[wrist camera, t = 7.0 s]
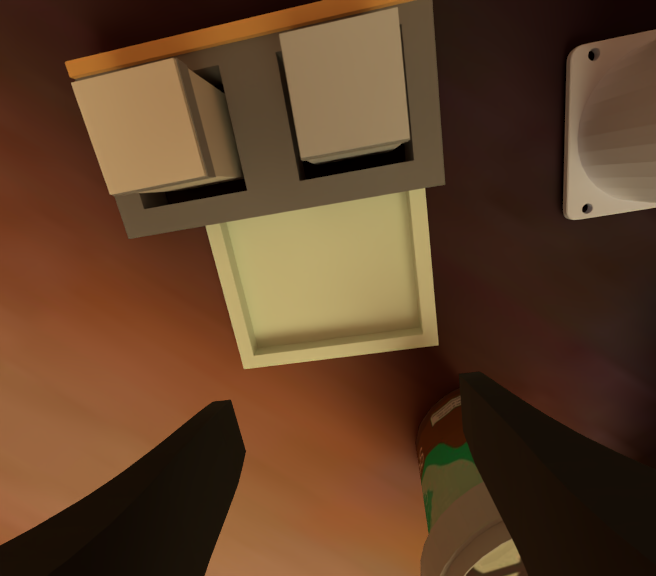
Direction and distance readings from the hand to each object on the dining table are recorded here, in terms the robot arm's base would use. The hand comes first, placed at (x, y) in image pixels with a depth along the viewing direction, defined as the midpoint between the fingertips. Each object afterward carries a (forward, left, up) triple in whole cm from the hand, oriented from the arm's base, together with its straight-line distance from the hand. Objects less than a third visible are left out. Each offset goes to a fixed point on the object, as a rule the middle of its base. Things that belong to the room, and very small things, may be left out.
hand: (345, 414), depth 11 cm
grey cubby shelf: (+3, -10, -10) cm, 15 cm away
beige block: (-1, -10, -10) cm, 15 cm away
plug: (+6, -10, -10) cm, 16 cm away
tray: (+1, -2, -10) cm, 11 cm away
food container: (-5, +12, -11) cm, 17 cm away
